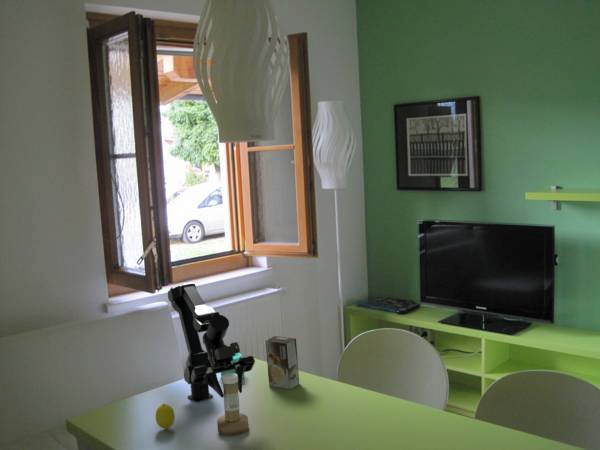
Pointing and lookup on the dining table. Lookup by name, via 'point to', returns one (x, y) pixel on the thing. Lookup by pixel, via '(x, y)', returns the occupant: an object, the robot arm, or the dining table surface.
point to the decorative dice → (235, 359)
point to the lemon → (165, 416)
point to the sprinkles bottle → (231, 397)
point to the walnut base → (232, 426)
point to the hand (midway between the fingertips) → (232, 394)
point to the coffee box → (282, 362)
